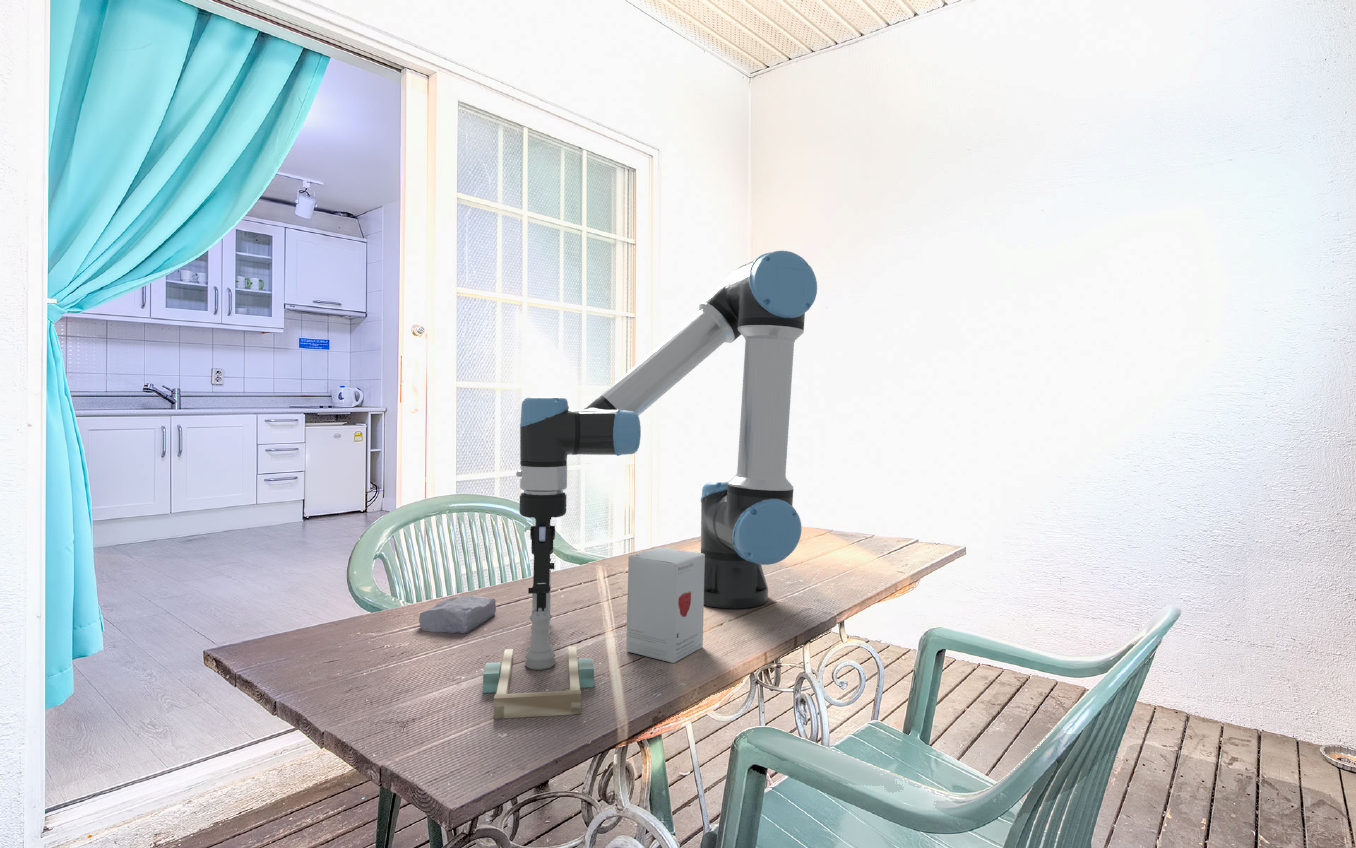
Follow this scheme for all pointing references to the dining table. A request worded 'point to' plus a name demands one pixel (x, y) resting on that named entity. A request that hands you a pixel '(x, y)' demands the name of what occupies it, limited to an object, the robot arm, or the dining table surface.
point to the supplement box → (665, 603)
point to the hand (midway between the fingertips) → (541, 620)
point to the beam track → (537, 701)
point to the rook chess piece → (540, 642)
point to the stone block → (458, 614)
